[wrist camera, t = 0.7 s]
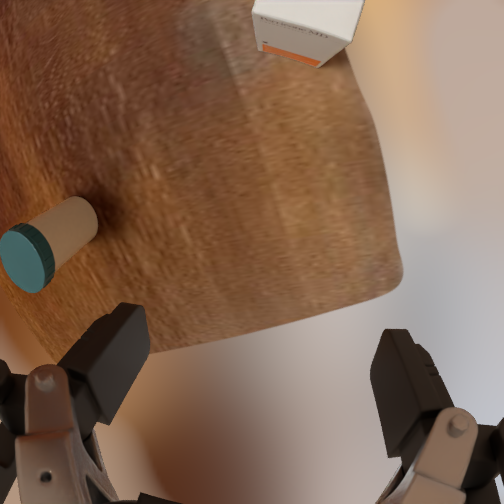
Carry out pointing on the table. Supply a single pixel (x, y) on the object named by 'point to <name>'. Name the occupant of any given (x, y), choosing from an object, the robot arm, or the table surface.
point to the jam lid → (27, 257)
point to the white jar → (67, 227)
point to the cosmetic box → (305, 27)
